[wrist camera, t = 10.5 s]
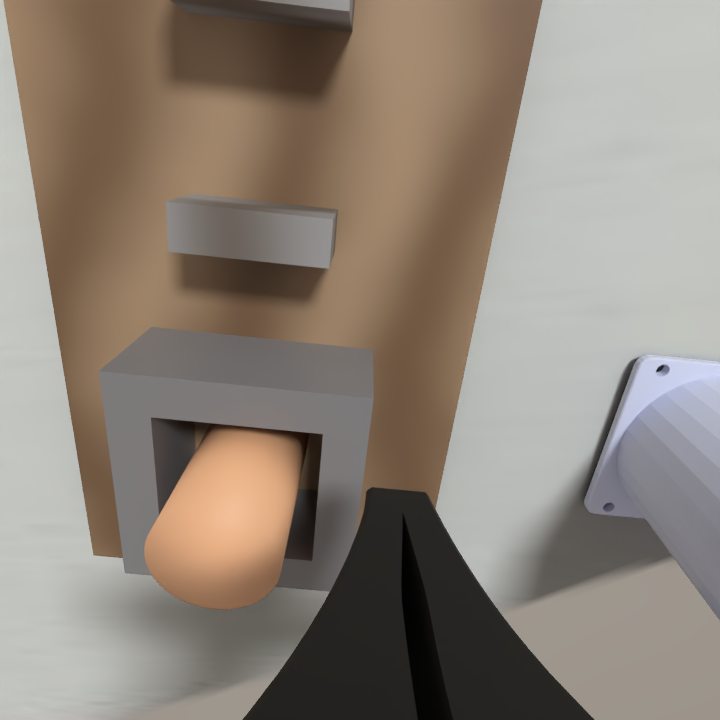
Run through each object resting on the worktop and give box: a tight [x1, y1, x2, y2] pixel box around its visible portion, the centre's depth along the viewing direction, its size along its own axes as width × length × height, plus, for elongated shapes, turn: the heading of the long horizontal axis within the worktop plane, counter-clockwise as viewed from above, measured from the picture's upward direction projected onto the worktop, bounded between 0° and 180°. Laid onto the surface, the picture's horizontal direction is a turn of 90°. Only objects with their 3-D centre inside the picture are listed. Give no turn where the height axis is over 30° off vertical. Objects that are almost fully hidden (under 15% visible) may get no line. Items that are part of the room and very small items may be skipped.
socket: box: [99, 327, 374, 591], centre depth 19 cm, size 9×9×4 cm
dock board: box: [4, 0, 542, 558], centre depth 18 cm, size 16×26×4 cm, turn 174°
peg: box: [144, 423, 309, 609], centre depth 17 cm, size 4×4×7 cm
